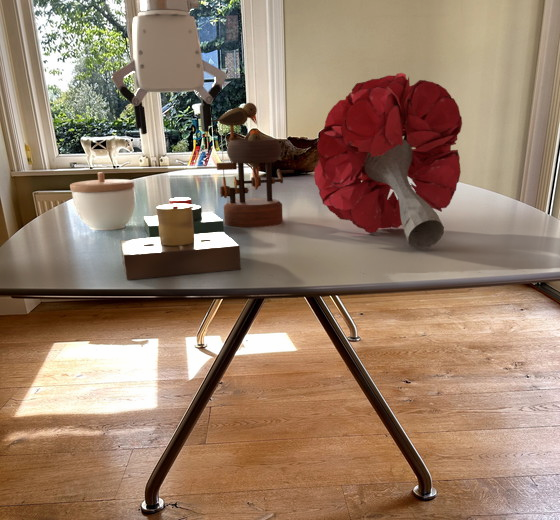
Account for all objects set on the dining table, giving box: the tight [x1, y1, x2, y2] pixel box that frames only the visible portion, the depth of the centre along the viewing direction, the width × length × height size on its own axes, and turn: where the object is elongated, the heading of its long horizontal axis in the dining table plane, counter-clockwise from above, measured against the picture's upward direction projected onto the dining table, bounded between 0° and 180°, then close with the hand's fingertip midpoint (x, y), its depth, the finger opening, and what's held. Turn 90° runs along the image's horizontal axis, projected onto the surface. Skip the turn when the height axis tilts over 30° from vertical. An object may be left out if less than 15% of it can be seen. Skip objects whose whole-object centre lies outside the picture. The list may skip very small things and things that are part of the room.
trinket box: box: [69, 171, 136, 232], centre depth 104 cm, size 11×11×9 cm
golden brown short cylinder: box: [156, 203, 195, 246], centre depth 75 cm, size 4×4×5 cm
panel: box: [119, 231, 242, 281], centre depth 77 cm, size 14×10×3 cm
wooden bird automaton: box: [212, 102, 295, 228], centre depth 104 cm, size 15×11×20 cm
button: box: [169, 197, 193, 205], centre depth 99 cm, size 4×4×2 cm
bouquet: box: [313, 72, 463, 250], centre depth 89 cm, size 22×24×30 cm
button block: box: [142, 204, 225, 238], centre depth 100 cm, size 12×10×4 cm
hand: (175, 132), depth 94 cm, fingers open, 9 cm apart
